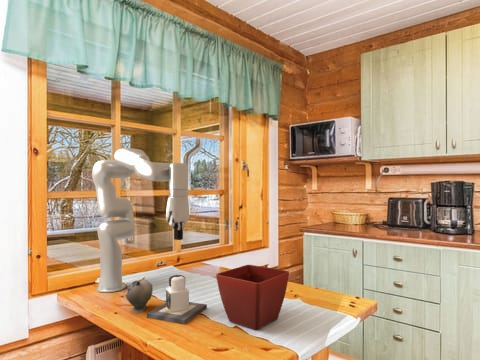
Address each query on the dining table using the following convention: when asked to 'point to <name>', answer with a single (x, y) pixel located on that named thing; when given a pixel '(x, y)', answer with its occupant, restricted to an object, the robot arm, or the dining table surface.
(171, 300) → the medicine bottle
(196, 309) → the charcoal board
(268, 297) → the plant pot
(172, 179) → the robot arm
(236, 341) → the dining table surface
